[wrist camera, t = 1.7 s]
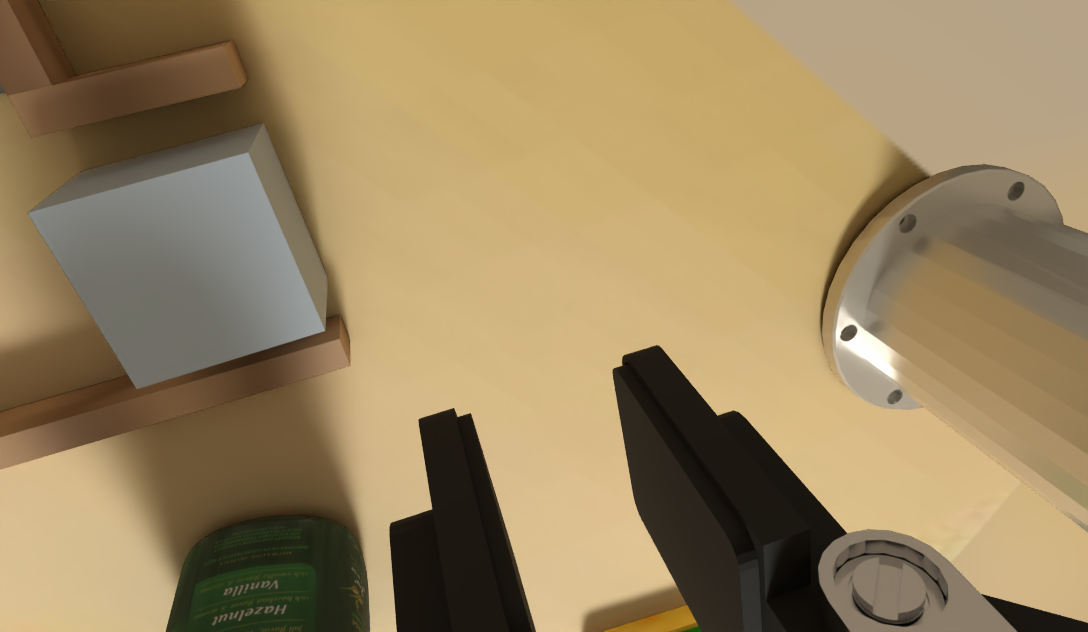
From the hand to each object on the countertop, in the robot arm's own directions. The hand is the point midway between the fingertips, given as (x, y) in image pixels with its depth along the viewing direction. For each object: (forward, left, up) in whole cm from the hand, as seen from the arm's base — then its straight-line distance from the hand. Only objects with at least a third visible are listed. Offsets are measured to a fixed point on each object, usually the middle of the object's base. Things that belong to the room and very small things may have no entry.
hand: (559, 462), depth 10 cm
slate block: (+8, 0, -17) cm, 19 cm away
